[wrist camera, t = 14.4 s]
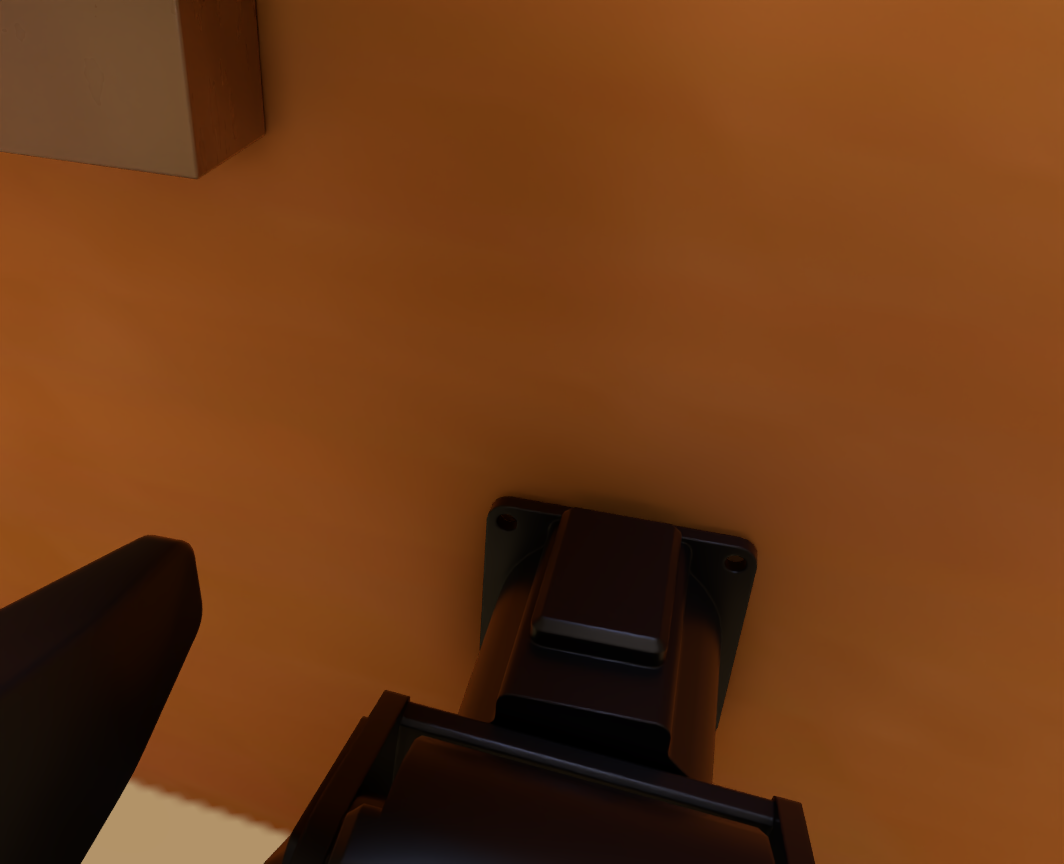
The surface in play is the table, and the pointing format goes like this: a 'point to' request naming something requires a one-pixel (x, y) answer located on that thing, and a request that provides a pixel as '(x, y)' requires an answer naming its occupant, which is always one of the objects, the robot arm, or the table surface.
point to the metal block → (130, 82)
